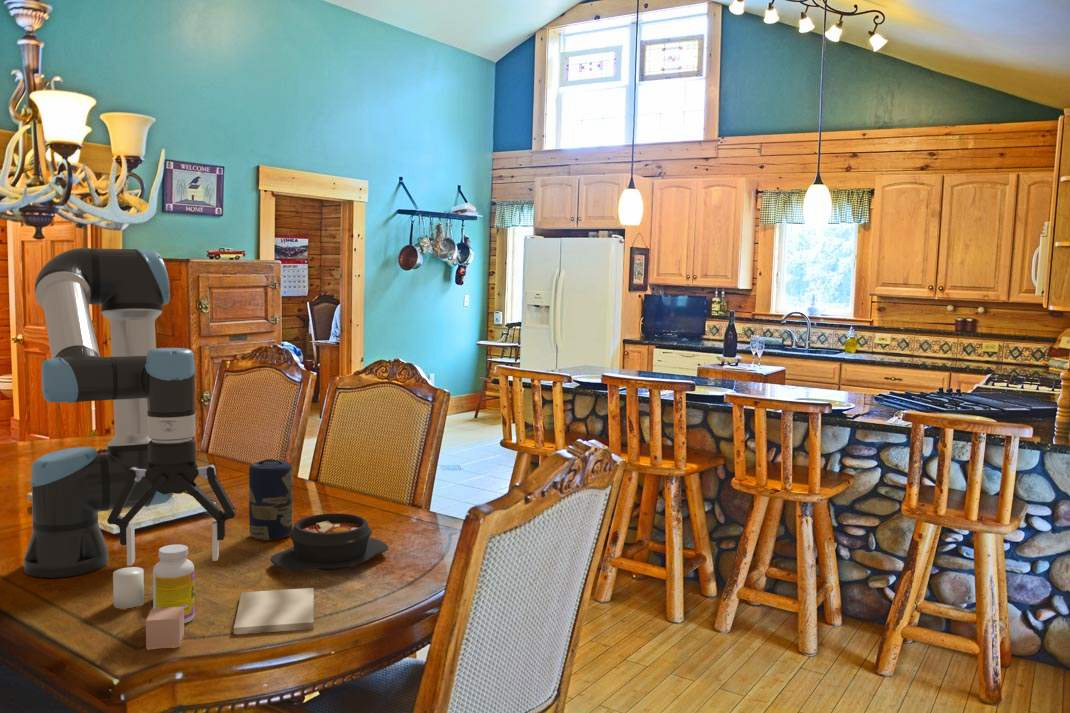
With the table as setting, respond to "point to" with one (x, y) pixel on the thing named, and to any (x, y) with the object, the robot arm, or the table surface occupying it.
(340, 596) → the table surface
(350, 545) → the casserole
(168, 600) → the supplement bottle
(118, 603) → the white domed cylinder
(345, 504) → the table surface
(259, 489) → the canister
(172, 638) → the terracotta block
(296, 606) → the birch board
